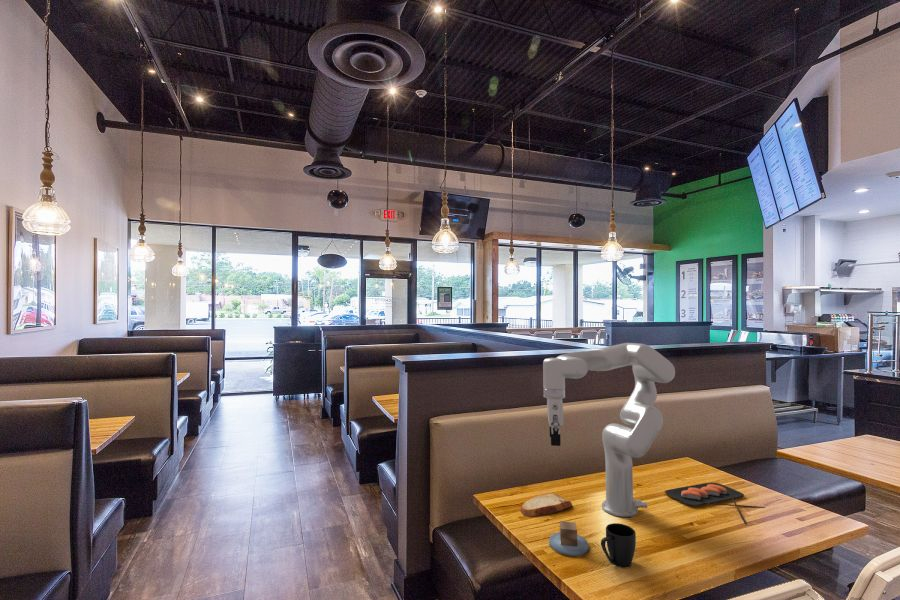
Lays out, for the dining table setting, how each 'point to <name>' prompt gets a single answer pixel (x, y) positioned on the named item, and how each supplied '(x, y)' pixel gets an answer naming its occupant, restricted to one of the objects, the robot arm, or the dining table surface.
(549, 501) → the bread slice
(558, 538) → the dish
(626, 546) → the mug
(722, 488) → the sushi plate
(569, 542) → the block
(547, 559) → the dining table surface
